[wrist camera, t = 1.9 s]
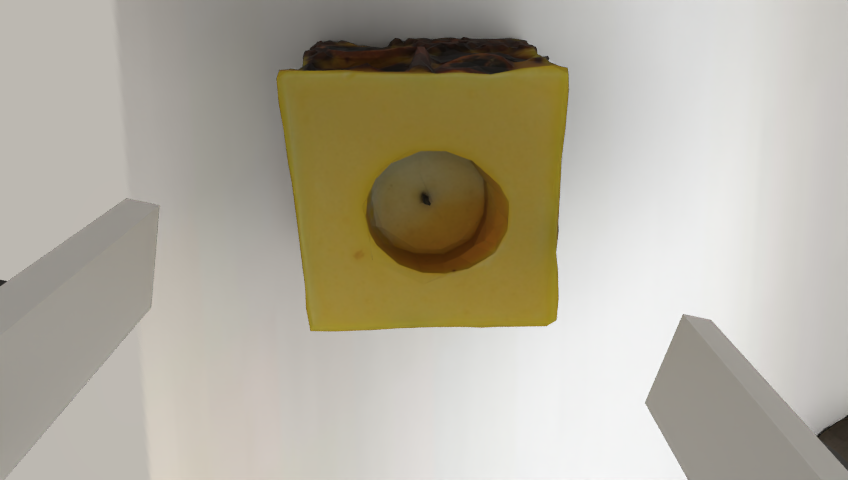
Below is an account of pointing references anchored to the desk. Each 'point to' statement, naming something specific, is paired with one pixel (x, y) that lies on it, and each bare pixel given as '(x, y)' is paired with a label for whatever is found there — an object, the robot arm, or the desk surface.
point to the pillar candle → (837, 438)
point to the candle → (426, 182)
